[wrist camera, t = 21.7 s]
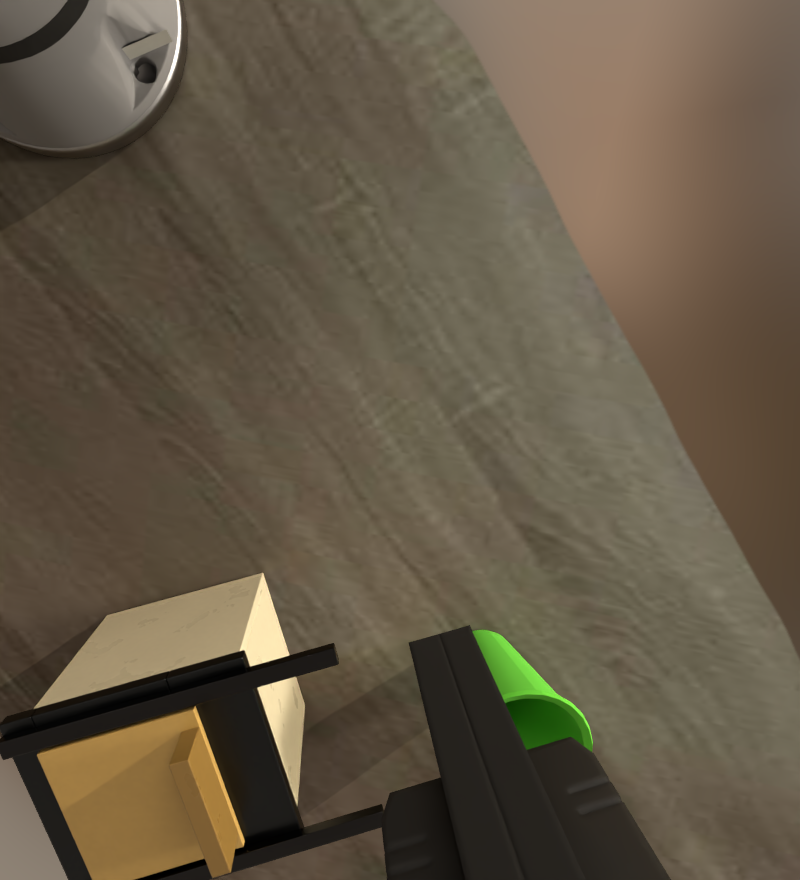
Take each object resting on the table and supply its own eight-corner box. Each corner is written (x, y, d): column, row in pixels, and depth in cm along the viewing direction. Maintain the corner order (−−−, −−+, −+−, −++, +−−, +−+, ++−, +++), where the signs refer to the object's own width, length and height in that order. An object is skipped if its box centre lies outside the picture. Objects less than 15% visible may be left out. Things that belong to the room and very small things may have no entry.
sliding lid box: (95, 609, 41) (-10, 734, 29) (331, 545, 42) (331, 638, 30) (153, 756, 44) (80, 929, 31) (373, 692, 45) (389, 834, 32)
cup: (411, 700, 46) (435, 814, 35) (438, 596, 44) (472, 682, 33) (517, 714, 47) (571, 828, 36) (546, 614, 46) (611, 702, 35)
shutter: (39, 749, 30) (10, 792, 27) (195, 705, 30) (181, 742, 27) (99, 884, 32) (77, 937, 29) (245, 840, 32) (236, 888, 29)
